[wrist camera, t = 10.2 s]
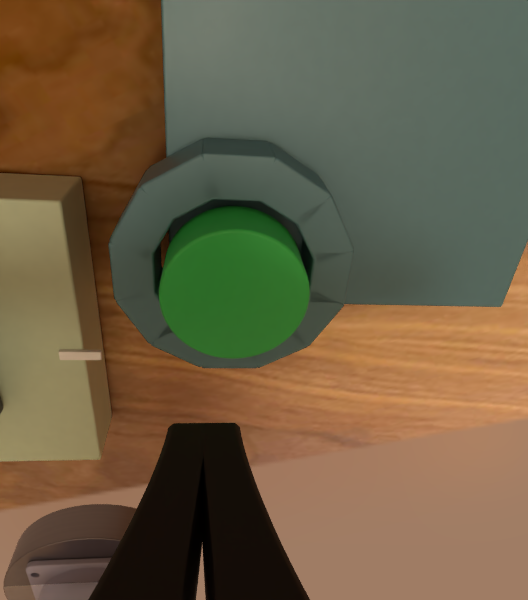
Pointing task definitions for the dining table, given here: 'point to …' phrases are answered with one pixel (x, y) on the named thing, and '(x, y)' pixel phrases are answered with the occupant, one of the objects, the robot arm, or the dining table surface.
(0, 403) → the dimmer knob
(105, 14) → the dining table surface
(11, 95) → the dining table surface
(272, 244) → the light button
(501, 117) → the switch box
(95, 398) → the dimmer panel
